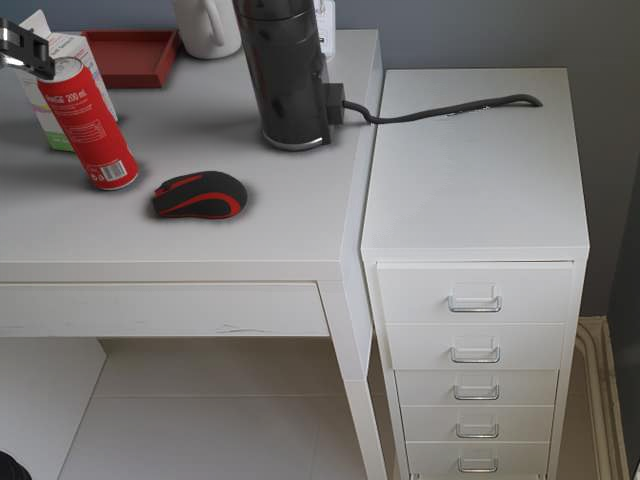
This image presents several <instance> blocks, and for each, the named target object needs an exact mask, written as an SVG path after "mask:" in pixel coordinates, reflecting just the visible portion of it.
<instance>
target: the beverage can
mask: <svg viewBox="0 0 640 480" xmlns="http://www.w3.org/2000/svg"><path fill="white" fill-rule="evenodd" d="M54 60H55V73H56V76H54V79H53V80H52V81H51V80H43V79H41V78H39V77H36V79H37V86H38V89H39V90H40V92H41V94H42V96H43V97H44V99H45V101H46V102H47V104H48V106H49V108H50V109H51V111H52V113H53V115H54V116H55V118H56V120H57V122H58V123H59V125H60V127H61V129H62V130H63V132H64V134H65V136H66V137H67V139H68V141H69V143H70V144H71V146H72V148H73V150H74V151H75V152H74V151H73V152H74V154H75V155H76V157H77V158H78V160H79V162H80V164H81V165H82V167H83V169H84V170H85V172H86V174H87V176H88V177H89V179H90V181H91V183H92V185H94V186H95V187H97V188H99V189H101V190H105V191H114V190H115V191H116V190H120V189H122V188H124V187H127V186H129V185H130V184H132V183H133V182H134V181H135V180H136V178H137V177H138V175H139V165H138V163H137V161H136V159H135V157H134V155H133V153H132V151H131V149H130V147H129V145H128V143H127V141H126V139H125V137H124V134H123V133H122V131H121V128H120V127H119V125H118V123H117V121H115V119H114V117H113V115H112V113H111V111H110V109H109V107H108V105H107V103H106V101H105V99H104V97H103V95H102V93H101V91H100V89H99V87H98V85H97V83H96V81H95V79H94V77H93V75H92V73H91V71H90V70H89V68H87V67H86V66H85V65H84V64H83V62H82V61H81V60H80V59H78V58H76V57H70V56H65V57H58V58H54Z"/></svg>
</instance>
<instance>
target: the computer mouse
mask: <svg viewBox="0 0 640 480" xmlns="http://www.w3.org/2000/svg"><path fill="white" fill-rule="evenodd" d="M151 203H152V207H153V211H154V212H156V213H157V214H158V215H160V216H161V217H164V218H185V217H195V218H201V219H202V218H203V219H212V220H213V219H217V220H219V219H225V218H230V217H235V216H236V215H237V214H239V213H240V212H241V211H242V210H244V208H245V207H246V205H247V203H248V191H247V188H246V187H245V185H244V184H243V183H242V182H241V181H240V180H239V179H237V178H236V177H234V176H233V175H230V174H229V173H226V172H223V171H218V170H203V171H198V172H197V171H196V172H193V173H192V172H191V173H187V174H183V175H179V176H175V177H172V178H170V179H166V180H165V181H163V182H162V183H161V185H159V187H158V188H156V189H154V197H153V198H151Z"/></svg>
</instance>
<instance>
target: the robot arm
mask: <svg viewBox="0 0 640 480" xmlns="http://www.w3.org/2000/svg"><path fill="white" fill-rule="evenodd" d="M232 4H233V8H234V12H235V17H236V21H237V25H238V28H239V32H240V36H241V45H242V47H243V52H244V56H245V60H246V65H247V68H248V69H247V70H248V73H249V78H250V81H251V85H252V89H253V93H254V97H255V101H256V106H257V110H258V114H259V118H260V119H259V120H260V123H261V124H260V125H261V128H262V129H261V130H262V134H263V137H264V139H265V141H266V142H267V143H268V144H269V145H270V146H272V147H274V148H276V149H279V150H284V151H290V152H291V151H294V152H295V151H296V152H297V151H305V150H311V149H314V148H316V147H319V146H321V145H325V144H332V142H333V135H334V132H335V126H339V125H341V126H343V125H344V120H345V119H344V118H345V112H346V110H351V111H354V112H358V113H360V114H361V115H362V116H363V119H364V120H365V121H366V122H367V123H370V124H374V125H388V124H391V125H392V124H399V123H400V124H401V123H410V122H416V121H419V120H424V119H428V118H434V117H441V116H447V115H452V114H457V113H462V112H466V111H471V110H475V109H481V108H487V107H494V106H495V107H496V106H503V105H508V104H513V103H518V102H525V103H529V104H531V105H533V106H534V107H535V108H542V107H544V104H543V103H542V102H541V100H540V99H539V98H537V97H535V96H533V95H531V94H527V93H515V94H511V95H507V96H502V97H493V98H486V99H480V100H474V101H469V102H464V103H460V104H456V105H451V106H449V105H448V106H445V107H438V108H432V109H426V110H422V111H418V112H414V113H410V114H406V115H401V116H396V117H379V116H374V115H372V114H371V113H370V110H369V109H368V108H366V107H365V106H364V105H362V104H359V103H356V102H353V101H348V100H346V93H345V85H344V83H343V82H330V77H329V76H330V75H329V70H328V63H327V57H326V54H325V53H324V52H323V51H322V45H321V39H320V32H319V27H318V26H319V25H318V20H317V13H316V7H315V1H314V0H232ZM18 25H19V24H16V23H14V22H13V21H11V20H8V19H7V18H4V17H0V70H2V69H4V68H11V69H12V68H13V69H14V68H16V69H20V70H23V71H26V72H28V73H30V74H32V75H34V76H36V77H39V78H41V79H43V80H51V81H52V80H53V79H54V76H56V73H55V60H54V59H53V58H52V57H50V56H49V41H48V40H46V39H44V38H42V37H40V36H38V35H36V34H34V32H32V31H30V30H26V29H24V28H22V27H20V26H18ZM9 56H10V57H12V58H14V59H17V60H14V59H10V57H9ZM18 60H19V61H18Z"/></svg>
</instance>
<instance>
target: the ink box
mask: <svg viewBox="0 0 640 480" xmlns="http://www.w3.org/2000/svg"><path fill="white" fill-rule="evenodd" d="M17 25H18V26H20V27H22V28H24V29H26V30H28V31H30V30H31V29H33V33H34V34H36V35H38V36H40V37H42V38H44V39H46V40H48V41H49V56H50V57H52V58H53V59H54V58H58V57H65V56H70V57H76V58H78V59H80V60H81V61H82V62H83V64H84V65H85V66H86V67H87V68H89V70H90V71H91V73H92V75H93V77H94V79H95V81H96V83H97V85H98V87H99V89H100V91H101V93H102V95H103V97H104V99H105V101H106V103H107V105H108V107H109V109H110V111H111V113H112V115H113V117H114V119H115V121H116V122H118V120H119V118H118V117H117V113H116V110H115V108H114V105H113V103H112V101H111V98H110V95H109V93H108V91H107V88H105V85H104V83H103V80H102V78H101V75H100V73H99V70H98V68H97V65H96V62H95V60H94V57H93V55H92V52H91V50H90V47H89V45H88V42H87V40H86V37H83V36H80V35H75V34H67V33H59V32H52V31H51V30H50V27H49V25H48V21H47V19H46V16H45V14H44V12H43V10H42V9H38V10H36V11H35V12H34V13H33V14H31V15H30V16H29V17H27V18H26V19H25V20H23V21H22V22H20V23H19V24H17ZM8 58H10V59H14V58H12V57H10V56H8ZM14 60H17V59H14ZM18 61H19V60H18ZM13 70H14V72H15V74H16V77H17V78H18V80H19V83H20V85H21V86H22V89H23V91H24V93H25V95H26V96H27V99H28V101H29V103H30V105H31V107H32V109H33V111H34V113H35V115H36V117H37V119H38V121H39V124H40V126H41V128H42V129H43V132H44V133H45V136H46V138H47V140H48V142H49V144H50V146H51V148H52V149H53V150H59V151H66V152H73V153H75V151H74V150H73V148H72V146H71V144H70V143H69V141H68V139H67V137H66V136H65V134H64V132H63V130H62V129H61V127H60V125H59V123H58V122H57V120H56V118H55V116H54V115H53V113H52V111H51V109H50V108H49V106H48V104H47V102H46V101H45V99H44V97H43V96H42V94H41V92H40V90H39V89H38V86H37V79H36V76H34V75H32V74H30V73H28V72H26V71H23V70H20V69H16V68H13Z"/></svg>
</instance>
